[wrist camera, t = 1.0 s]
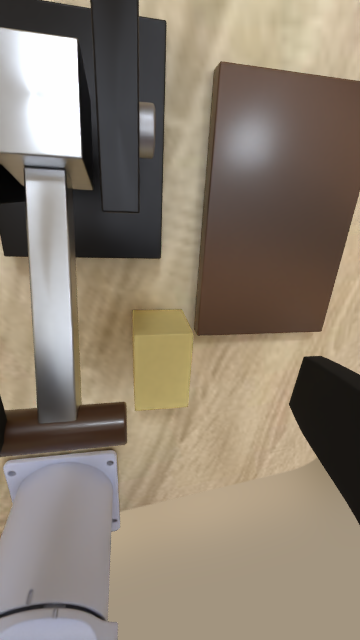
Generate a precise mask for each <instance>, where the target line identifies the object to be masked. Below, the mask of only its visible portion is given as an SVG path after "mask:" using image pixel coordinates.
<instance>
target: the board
mask: <svg viewBox="0 0 360 640" xmlns="http://www.w3.org/2000/svg"><path fill="white" fill-rule="evenodd" d="M359 192H360V81H355V80H348V79H341V78H334V77H327V76H320V75H313V74H306V73H299V72H292V71H285V70H278V69H271V68H264V67H257V66H250V65H243V64H236V63H229V62H222V61H221V62H220V63H219V64H218V66H217V67H216V68H215V70H214V82H213V95H212V107H211V120H210V133H209V146H208V159H207V172H206V184H205V197H204V210H203V223H202V236H201V249H200V261H199V274H198V287H197V300H196V313H195V326H194V330H195V332H196V334H197V335H198V336H200V335H230V334H260V333H290V332H320V331H322V327H323V323H324V320H325V316H326V313H327V309H328V305H329V302H330V298H331V294H332V291H333V287H334V283H335V280H336V276H337V272H338V269H339V265H340V261H341V258H342V254H343V250H344V247H345V243H346V239H347V236H348V232H349V228H350V225H351V221H352V218H353V214H354V210H355V207H356V203H357V199H358V196H359Z"/></svg>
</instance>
